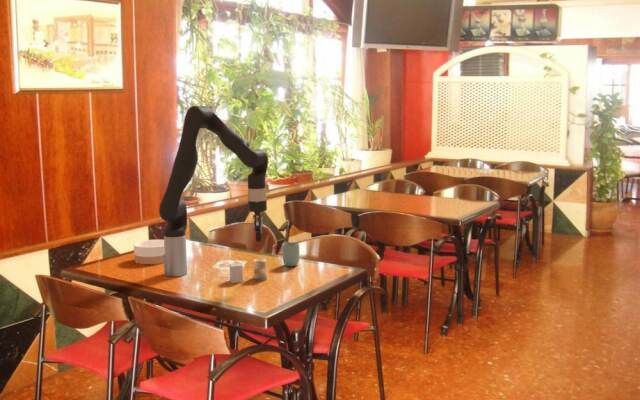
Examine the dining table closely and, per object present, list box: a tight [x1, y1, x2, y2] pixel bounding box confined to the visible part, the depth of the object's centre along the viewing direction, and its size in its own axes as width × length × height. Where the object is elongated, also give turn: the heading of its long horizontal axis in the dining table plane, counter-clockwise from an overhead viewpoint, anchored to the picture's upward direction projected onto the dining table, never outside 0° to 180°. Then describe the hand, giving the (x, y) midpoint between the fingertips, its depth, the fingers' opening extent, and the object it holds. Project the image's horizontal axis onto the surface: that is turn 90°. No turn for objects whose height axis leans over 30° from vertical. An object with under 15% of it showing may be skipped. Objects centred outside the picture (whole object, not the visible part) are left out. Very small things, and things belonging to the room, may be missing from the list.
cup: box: [281, 241, 300, 267], centre depth 316 cm, size 8×8×10 cm
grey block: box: [229, 262, 244, 284], centre depth 292 cm, size 4×4×7 cm
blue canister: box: [253, 258, 268, 281], centre depth 295 cm, size 5×5×8 cm
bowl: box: [133, 239, 165, 265], centre depth 331 cm, size 17×17×8 cm
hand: (258, 241), depth 284 cm, fingers closed
